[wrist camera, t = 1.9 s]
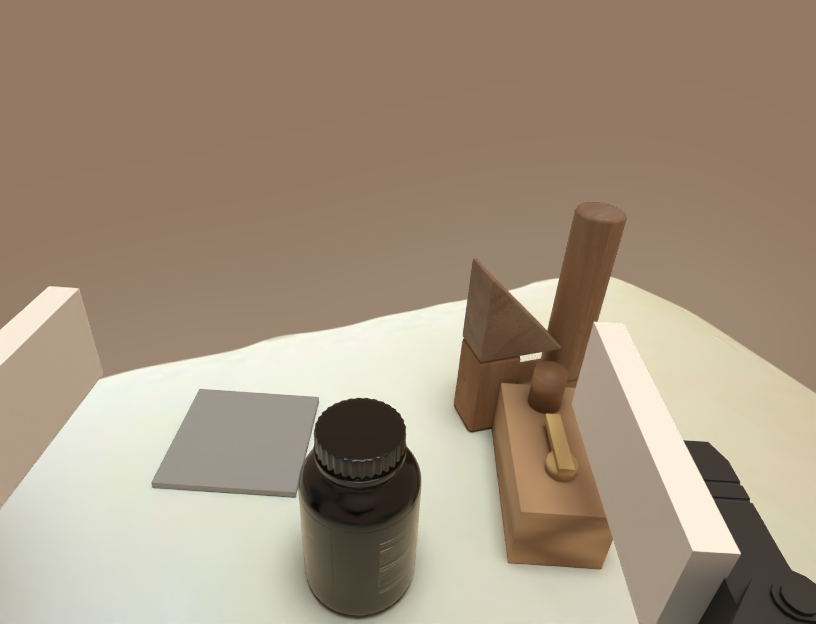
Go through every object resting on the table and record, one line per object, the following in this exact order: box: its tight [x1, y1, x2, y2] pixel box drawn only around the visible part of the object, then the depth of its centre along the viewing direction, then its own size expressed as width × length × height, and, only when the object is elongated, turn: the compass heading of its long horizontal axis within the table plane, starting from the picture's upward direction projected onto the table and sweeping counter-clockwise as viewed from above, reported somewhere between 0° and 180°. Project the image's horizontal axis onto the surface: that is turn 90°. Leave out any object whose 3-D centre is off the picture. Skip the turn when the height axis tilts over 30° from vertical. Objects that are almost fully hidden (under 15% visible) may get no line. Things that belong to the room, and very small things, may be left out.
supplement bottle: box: [298, 398, 421, 615], centre depth 33 cm, size 7×7×12 cm
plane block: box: [492, 361, 613, 569], centre depth 40 cm, size 6×12×8 cm, turn 178°
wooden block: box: [454, 202, 626, 431], centre depth 45 cm, size 4×11×18 cm, turn 108°
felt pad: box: [151, 389, 319, 497], centre depth 45 cm, size 10×10×1 cm
